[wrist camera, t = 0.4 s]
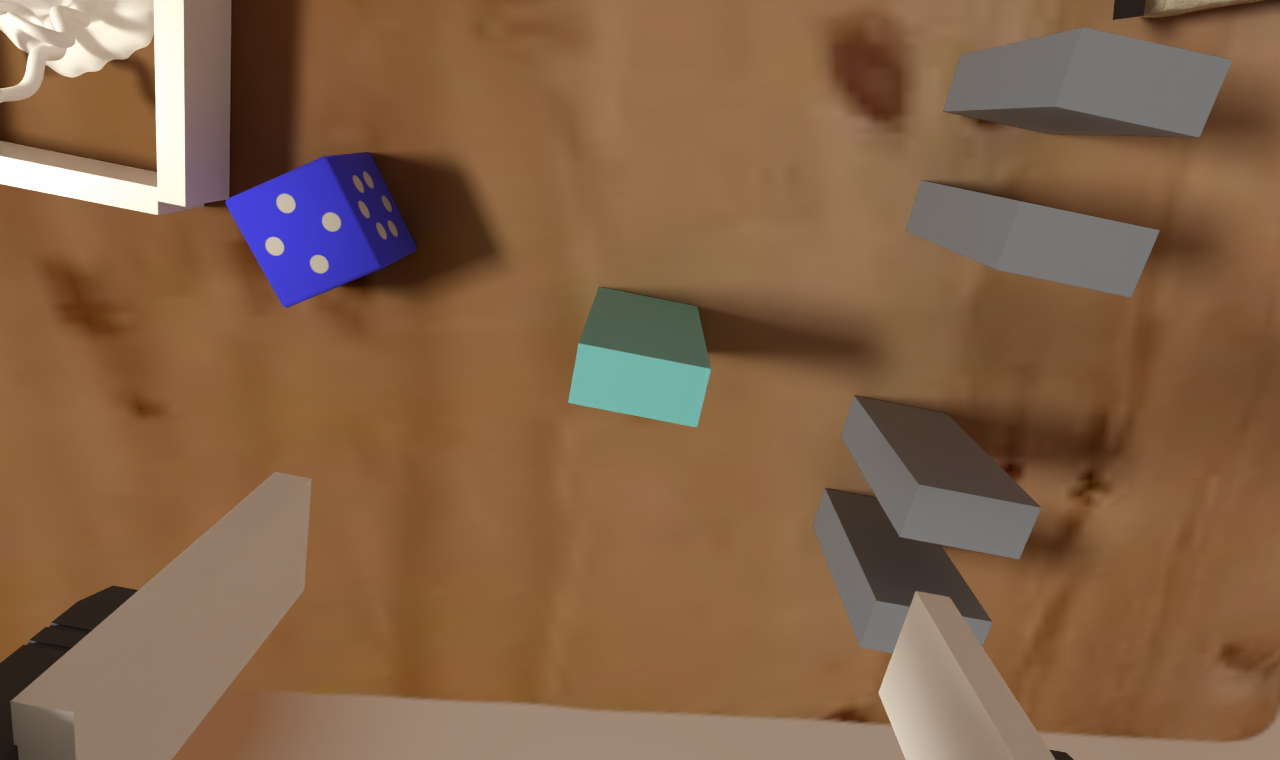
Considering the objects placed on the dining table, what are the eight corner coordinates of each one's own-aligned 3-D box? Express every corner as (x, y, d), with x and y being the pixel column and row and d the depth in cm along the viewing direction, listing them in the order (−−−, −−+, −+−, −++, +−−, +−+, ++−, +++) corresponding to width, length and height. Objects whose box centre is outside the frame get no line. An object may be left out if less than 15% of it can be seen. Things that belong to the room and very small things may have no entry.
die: (330, 286, 37) (282, 309, 32) (279, 190, 35) (221, 200, 31) (418, 249, 36) (383, 268, 32) (370, 150, 35) (325, 154, 30)
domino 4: (854, 395, 38) (918, 484, 29) (946, 413, 38) (1041, 507, 29) (841, 436, 39) (899, 537, 29) (932, 454, 39) (1019, 559, 30)
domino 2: (960, 55, 33) (1083, 27, 23) (1068, 78, 33) (1232, 60, 24) (943, 111, 34) (1054, 106, 24) (1047, 134, 34) (1199, 137, 24)
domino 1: (599, 286, 37) (578, 343, 27) (697, 306, 37) (711, 368, 27) (590, 332, 37) (568, 402, 28) (686, 351, 38) (696, 427, 28)
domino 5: (824, 488, 40) (876, 600, 30) (913, 505, 40) (992, 621, 31) (813, 526, 41) (859, 647, 31) (900, 542, 41) (973, 667, 31)
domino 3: (921, 180, 35) (1020, 201, 25) (1023, 201, 35) (1159, 230, 25) (905, 230, 35) (996, 269, 26) (1005, 251, 36) (1130, 297, 26)
